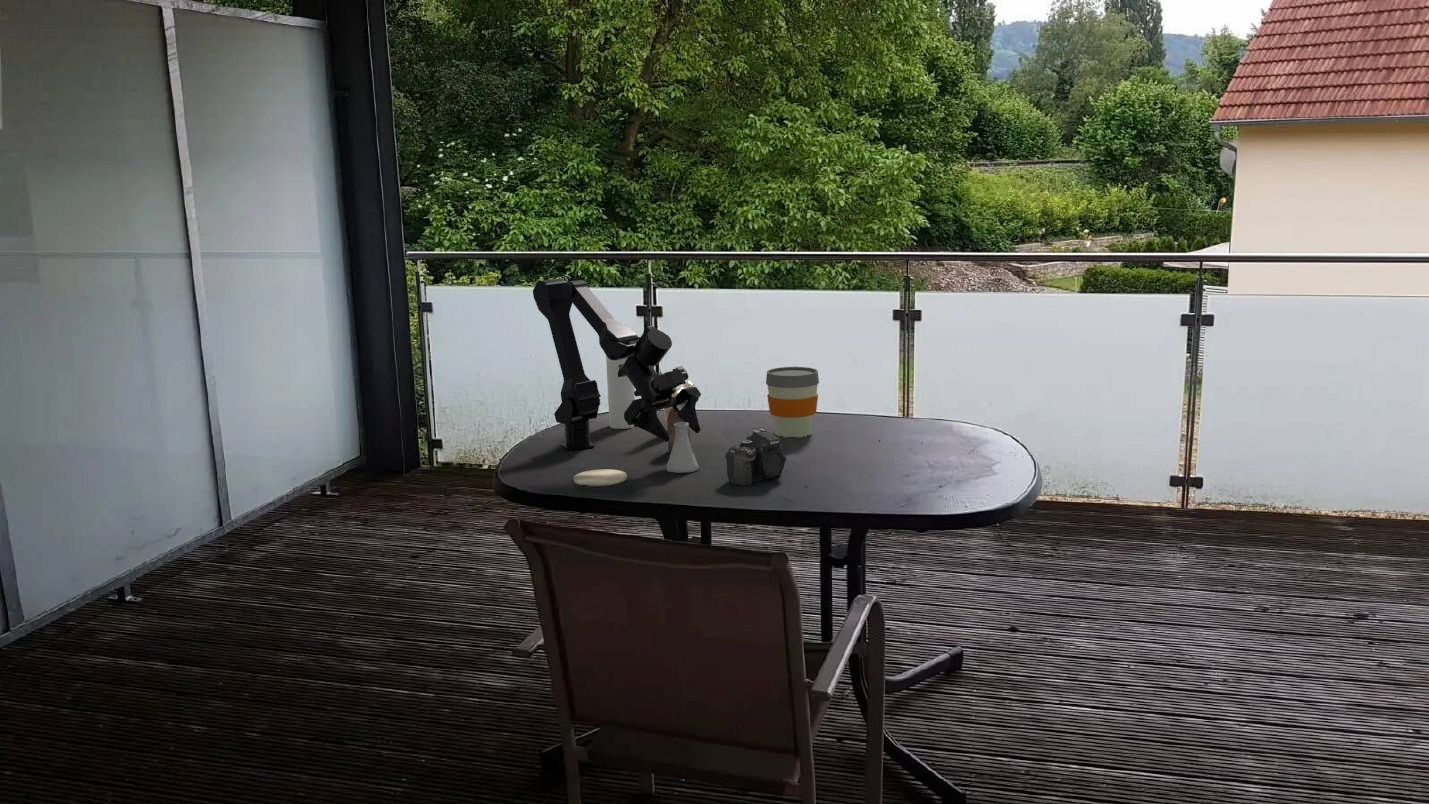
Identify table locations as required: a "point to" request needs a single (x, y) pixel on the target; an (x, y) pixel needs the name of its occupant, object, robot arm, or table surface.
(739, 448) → the camera
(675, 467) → the flask
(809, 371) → the reusable coffee cup
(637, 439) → the table surface
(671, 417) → the pepper shaker
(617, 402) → the spray bottle
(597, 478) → the coaster
